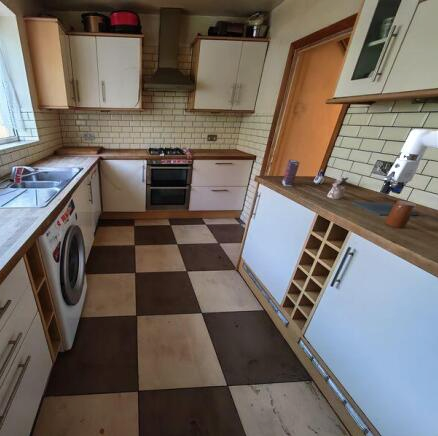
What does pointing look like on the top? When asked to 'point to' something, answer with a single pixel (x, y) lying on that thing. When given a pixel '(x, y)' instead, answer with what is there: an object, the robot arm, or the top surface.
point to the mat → (377, 207)
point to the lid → (396, 188)
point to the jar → (400, 214)
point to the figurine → (338, 189)
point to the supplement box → (290, 172)
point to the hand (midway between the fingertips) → (390, 193)
